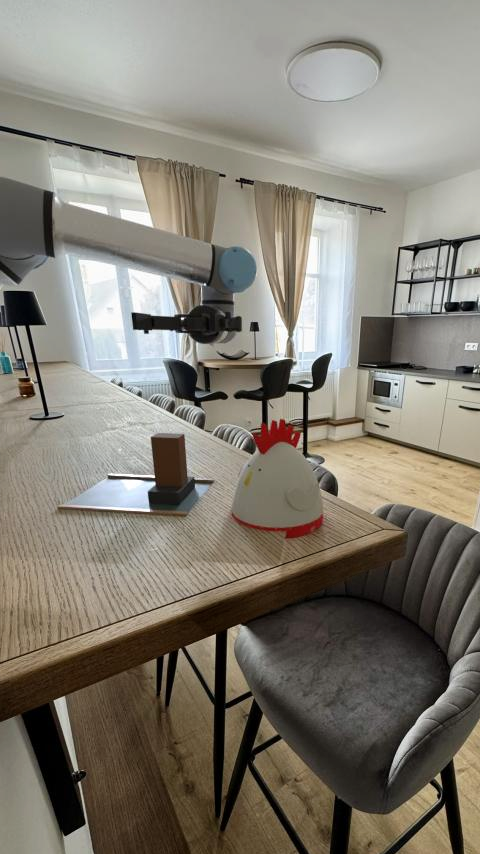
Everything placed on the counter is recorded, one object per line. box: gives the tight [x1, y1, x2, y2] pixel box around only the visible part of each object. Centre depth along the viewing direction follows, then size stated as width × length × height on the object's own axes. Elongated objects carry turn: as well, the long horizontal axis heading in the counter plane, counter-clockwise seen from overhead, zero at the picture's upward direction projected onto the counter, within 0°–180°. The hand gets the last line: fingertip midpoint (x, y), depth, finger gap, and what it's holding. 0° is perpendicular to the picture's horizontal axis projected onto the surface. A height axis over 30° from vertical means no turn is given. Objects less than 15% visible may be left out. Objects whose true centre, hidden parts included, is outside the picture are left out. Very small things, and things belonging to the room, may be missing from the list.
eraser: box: [148, 432, 195, 505], centre depth 66 cm, size 8×5×10 cm, turn 174°
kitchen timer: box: [231, 418, 324, 539], centre depth 60 cm, size 14×14×15 cm
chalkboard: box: [57, 473, 215, 517], centre depth 69 cm, size 20×16×2 cm
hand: (173, 321), depth 69 cm, fingers open, 13 cm apart
